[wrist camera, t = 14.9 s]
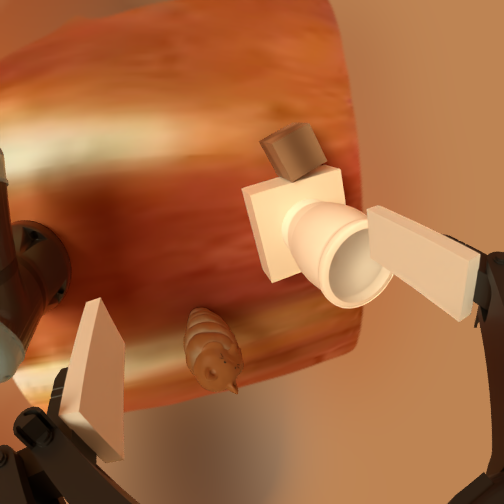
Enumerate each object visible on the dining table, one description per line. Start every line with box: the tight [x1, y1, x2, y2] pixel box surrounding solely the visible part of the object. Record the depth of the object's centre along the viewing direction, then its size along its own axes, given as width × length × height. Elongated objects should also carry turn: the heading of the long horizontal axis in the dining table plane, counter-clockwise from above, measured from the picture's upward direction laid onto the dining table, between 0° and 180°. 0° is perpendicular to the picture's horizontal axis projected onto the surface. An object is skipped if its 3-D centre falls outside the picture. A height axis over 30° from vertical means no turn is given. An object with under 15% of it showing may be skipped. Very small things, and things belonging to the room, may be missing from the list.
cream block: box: [241, 165, 346, 283], centre depth 50 cm, size 14×14×5 cm
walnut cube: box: [259, 123, 327, 182], centre depth 45 cm, size 6×6×6 cm
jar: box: [282, 199, 394, 308], centre depth 41 cm, size 11×10×15 cm
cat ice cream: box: [184, 307, 244, 394], centre depth 46 cm, size 9×8×18 cm
